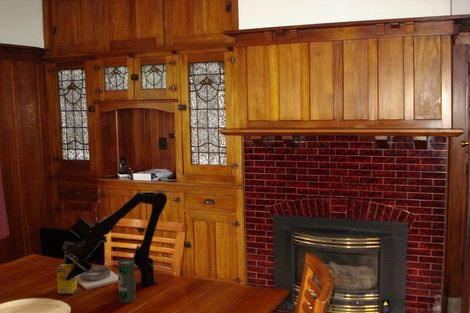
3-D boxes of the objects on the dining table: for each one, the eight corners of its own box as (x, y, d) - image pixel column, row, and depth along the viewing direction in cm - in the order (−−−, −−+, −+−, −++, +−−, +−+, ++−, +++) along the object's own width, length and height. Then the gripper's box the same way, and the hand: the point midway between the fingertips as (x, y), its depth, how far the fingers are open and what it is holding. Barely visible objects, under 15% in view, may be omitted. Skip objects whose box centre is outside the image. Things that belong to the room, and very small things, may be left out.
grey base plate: (123, 281, 221) (123, 278, 221) (85, 289, 212) (85, 287, 212) (104, 268, 239) (103, 266, 239) (69, 275, 230) (68, 273, 230)
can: (118, 298, 201) (116, 260, 200) (134, 296, 204) (132, 258, 202) (120, 303, 196) (119, 265, 194) (136, 301, 198) (135, 263, 196)
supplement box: (72, 295, 206) (71, 268, 204) (57, 295, 206) (56, 268, 205) (77, 289, 211) (76, 263, 210) (63, 290, 212) (61, 263, 210)
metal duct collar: (114, 276, 224) (114, 271, 223) (86, 283, 217) (85, 277, 216) (104, 269, 234) (103, 264, 234) (76, 275, 227) (76, 269, 226)
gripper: (67, 229, 216) (41, 260, 211) (82, 238, 201) (54, 272, 196) (87, 244, 221) (62, 275, 216) (103, 254, 206) (76, 287, 201)
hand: (63, 277), depth 207 cm, fingers closed on supplement box, 8 cm apart
